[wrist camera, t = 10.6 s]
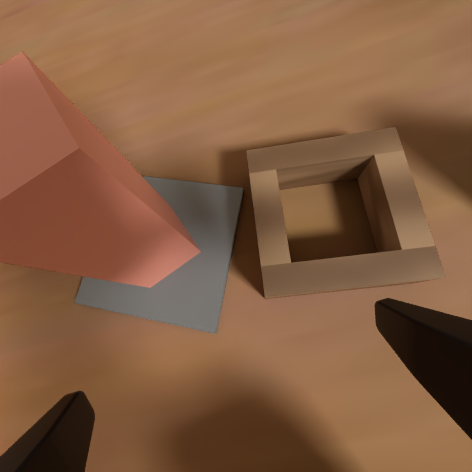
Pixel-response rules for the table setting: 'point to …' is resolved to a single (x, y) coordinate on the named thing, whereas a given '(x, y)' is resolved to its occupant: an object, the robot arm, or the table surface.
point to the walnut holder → (376, 204)
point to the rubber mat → (190, 273)
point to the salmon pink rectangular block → (76, 192)
